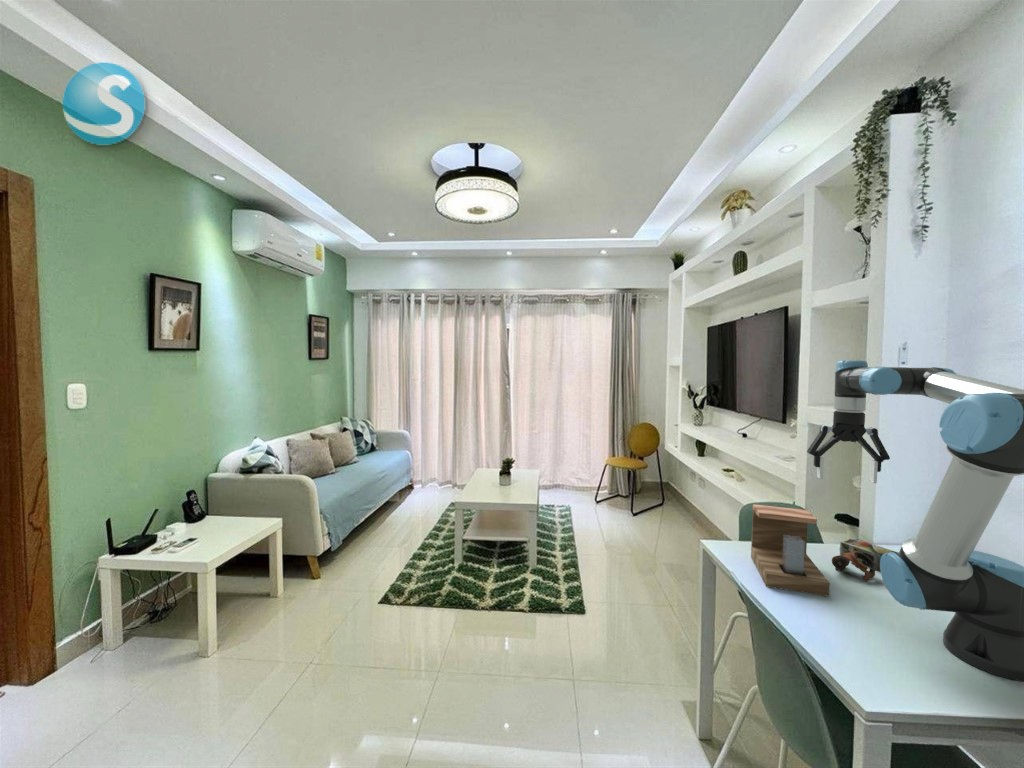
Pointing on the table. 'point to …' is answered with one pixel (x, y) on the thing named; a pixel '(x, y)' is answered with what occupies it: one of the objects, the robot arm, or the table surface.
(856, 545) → the juice carton
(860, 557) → the brown ring shaped figurine
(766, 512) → the socket stand
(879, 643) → the table surface
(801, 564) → the peg
